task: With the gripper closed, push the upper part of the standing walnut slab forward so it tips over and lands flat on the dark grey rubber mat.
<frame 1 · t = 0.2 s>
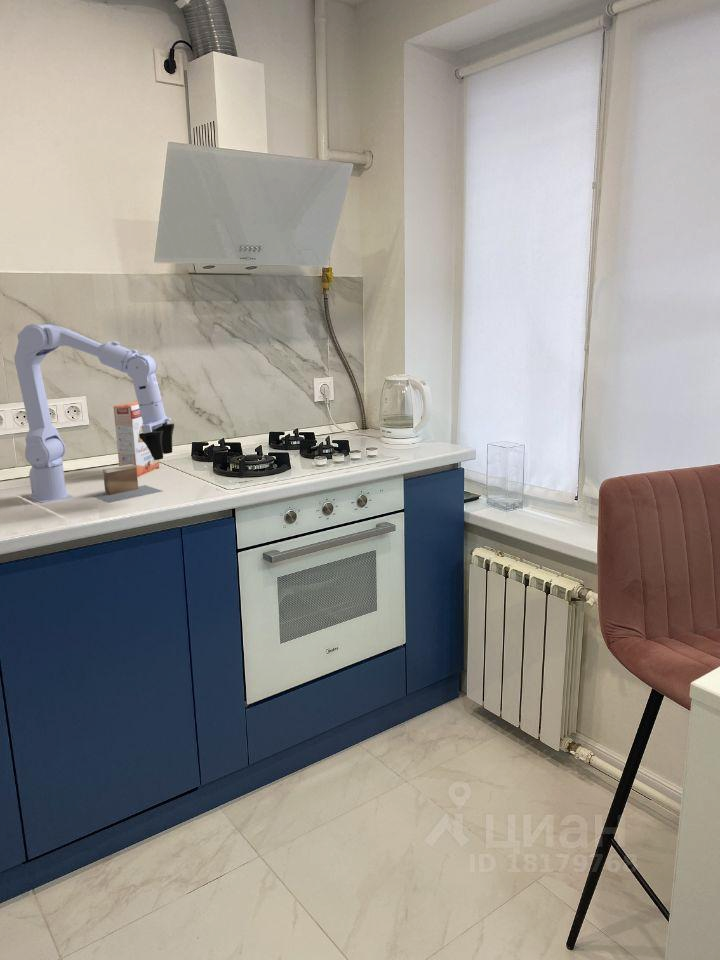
hand: (163, 456, 181), 11 cm above the counter, tool pointing down, fingers open, 7 cm apart
mat: (127, 494, 187), on the counter
slab: (122, 491, 189), resting on mat
cracker box: (141, 473, 213), on the counter
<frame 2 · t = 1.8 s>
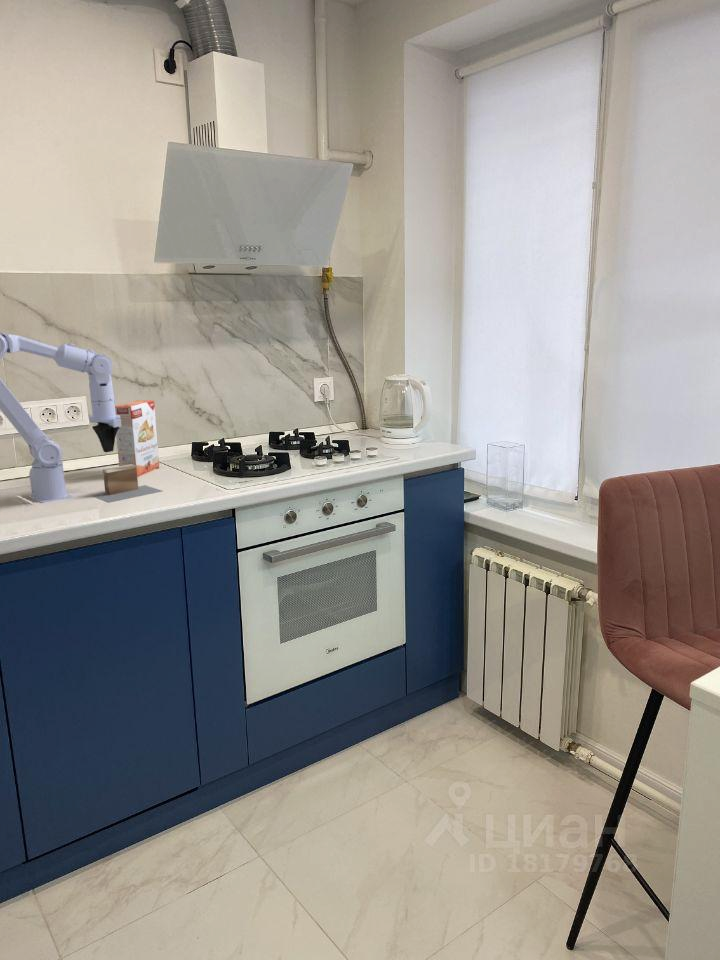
hand: (108, 451, 191), 10 cm above the counter, tool pointing down, fingers closed
nothing on the counter moved.
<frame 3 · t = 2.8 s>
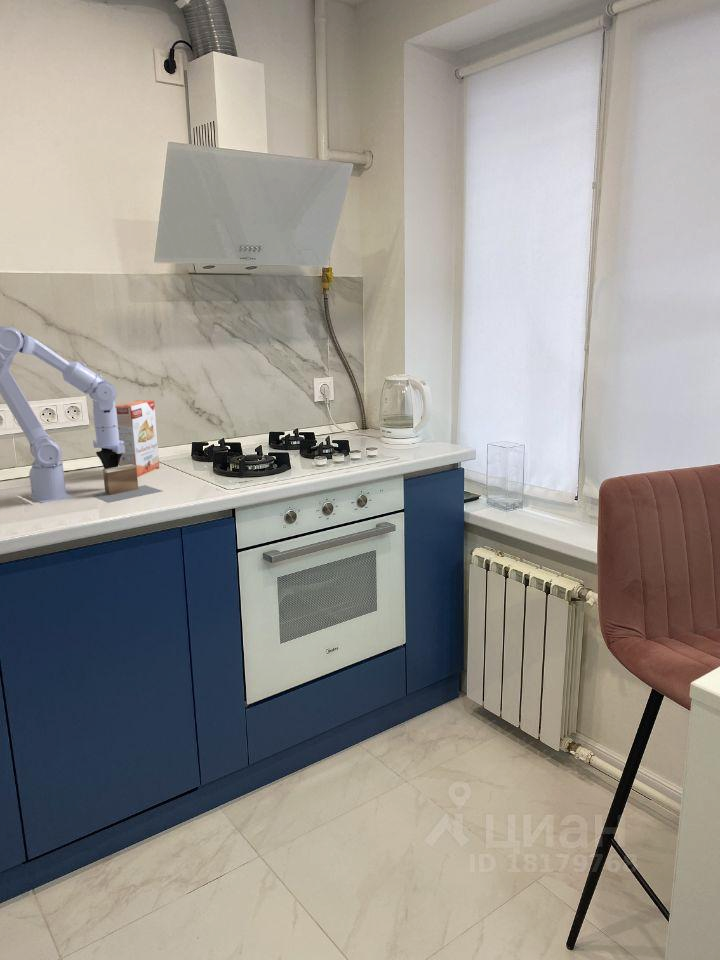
hand: (112, 476, 192), 4 cm above the counter, tool pointing down, fingers closed
nothing on the counter moved.
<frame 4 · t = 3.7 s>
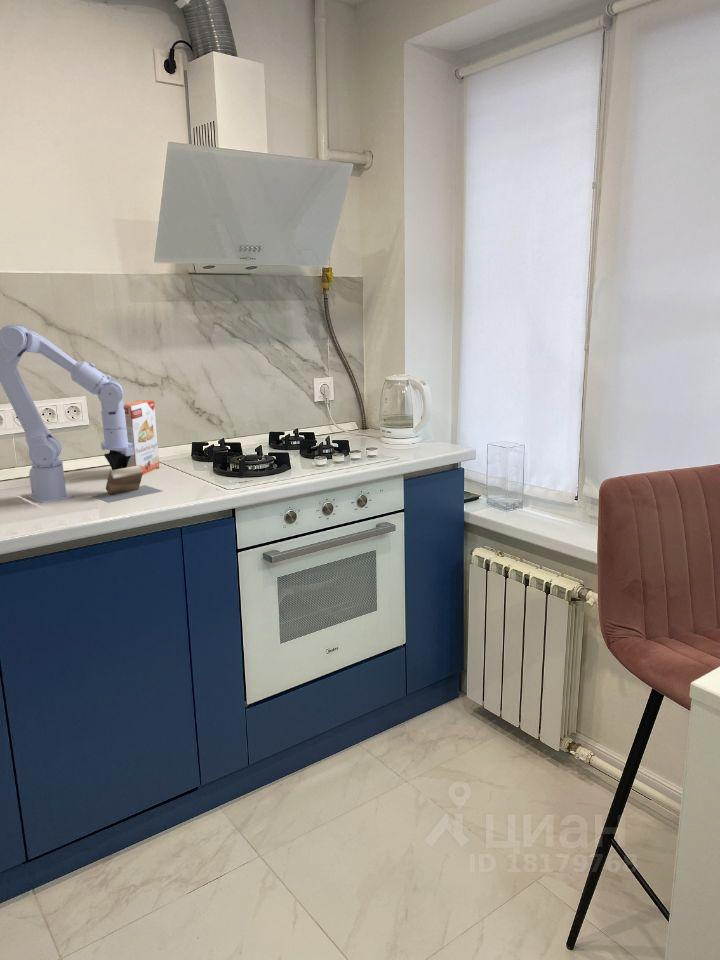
hand: (120, 479, 189), 4 cm above the counter, tool pointing down, fingers closed
slab: (122, 488, 189), point 1 cm above the counter, tilted 35°, touching mat
everything else where it was.
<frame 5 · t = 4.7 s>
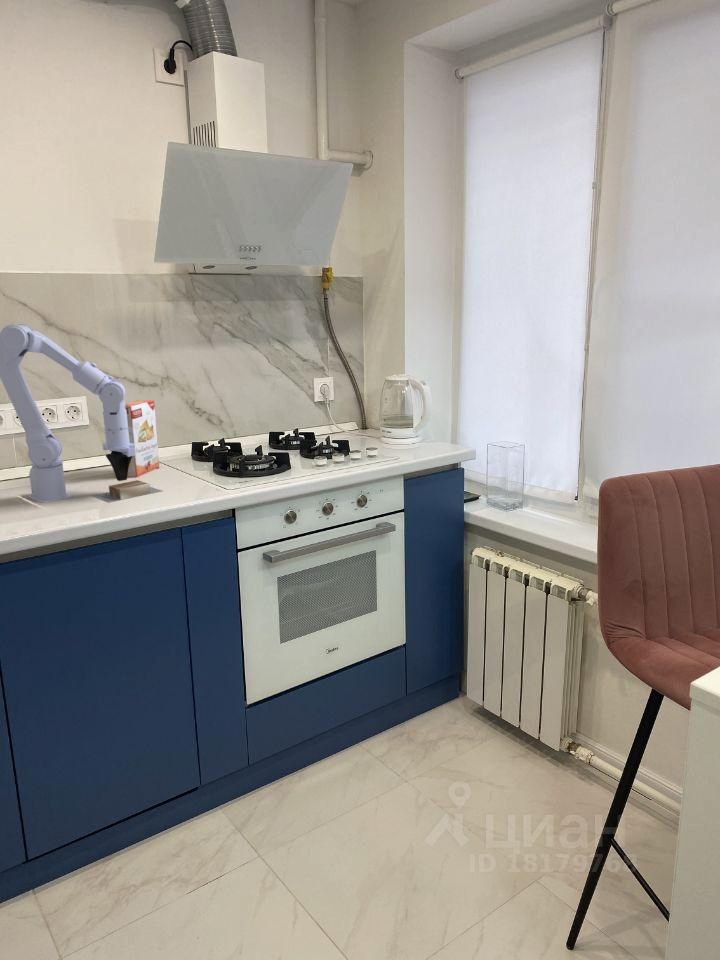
hand: (122, 480, 188), 4 cm above the counter, tool pointing down, fingers closed
slab: (123, 487, 188), point 2 cm above the counter, tilted 90°, touching mat
everything else where it was.
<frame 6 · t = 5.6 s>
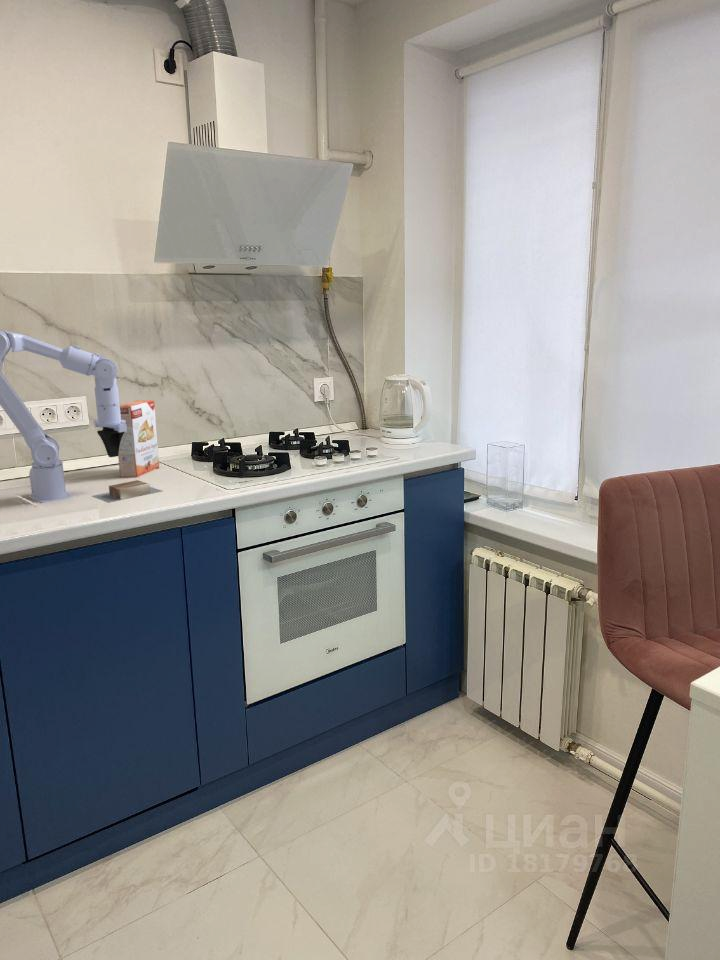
hand: (113, 456, 189), 9 cm above the counter, tool pointing down, fingers closed
nothing on the counter moved.
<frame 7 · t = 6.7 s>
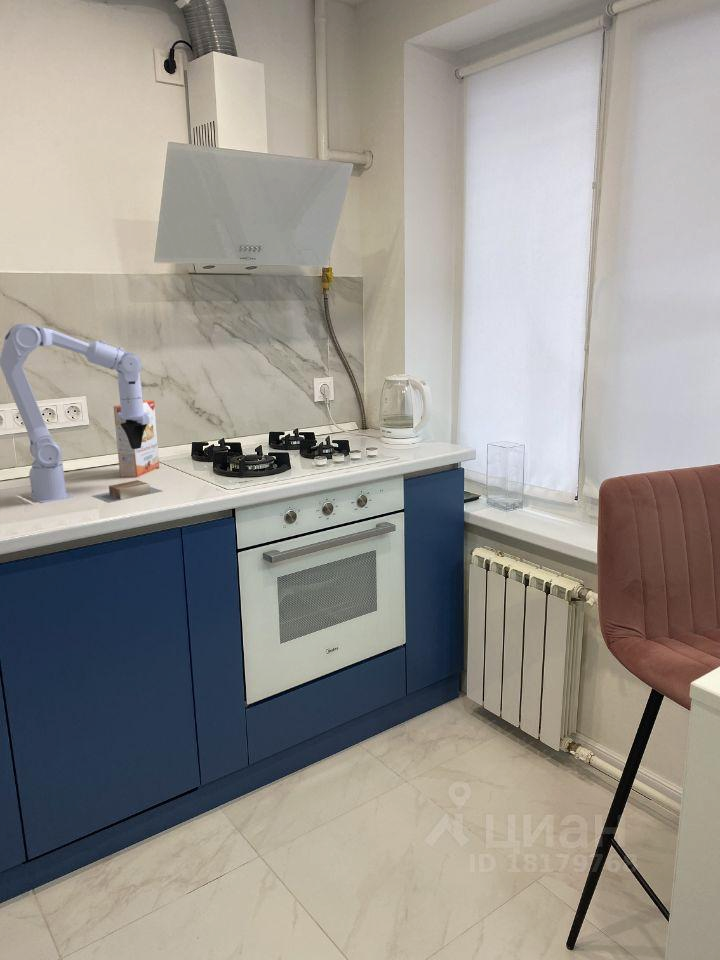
hand: (136, 448, 194), 10 cm above the counter, tool pointing down, fingers closed
nothing on the counter moved.
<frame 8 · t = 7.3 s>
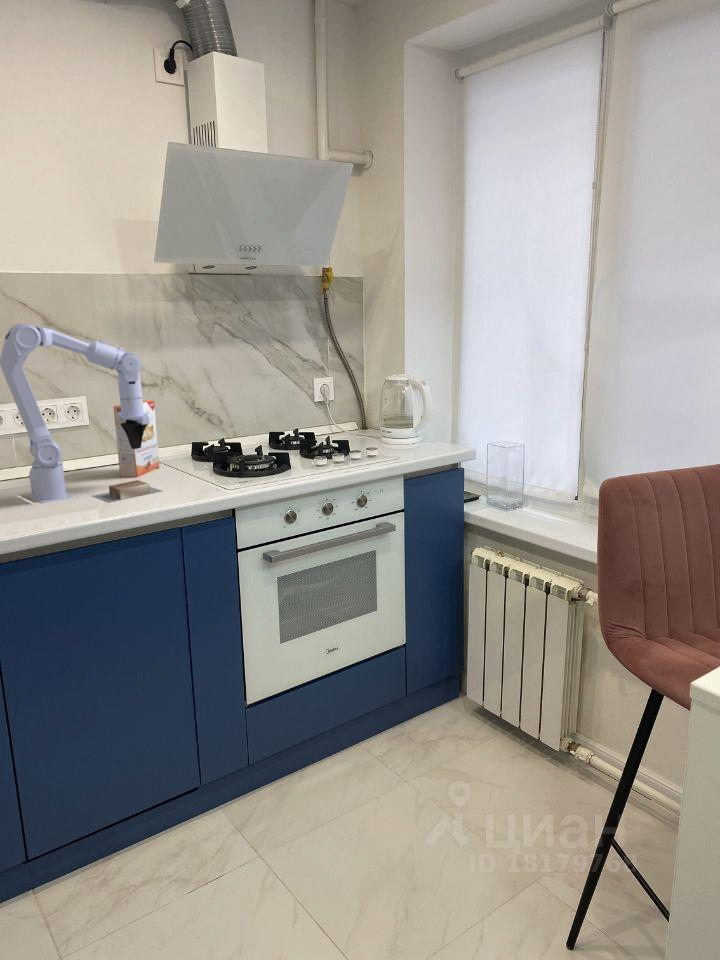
hand: (136, 448, 194), 10 cm above the counter, tool pointing down, fingers closed
nothing on the counter moved.
at the end: slab tilted 90°; slab inside the target area on the mat (2.1 cm from its centre), point 1.6 cm above the mat's base; slab point 1.6 cm above the counter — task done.
